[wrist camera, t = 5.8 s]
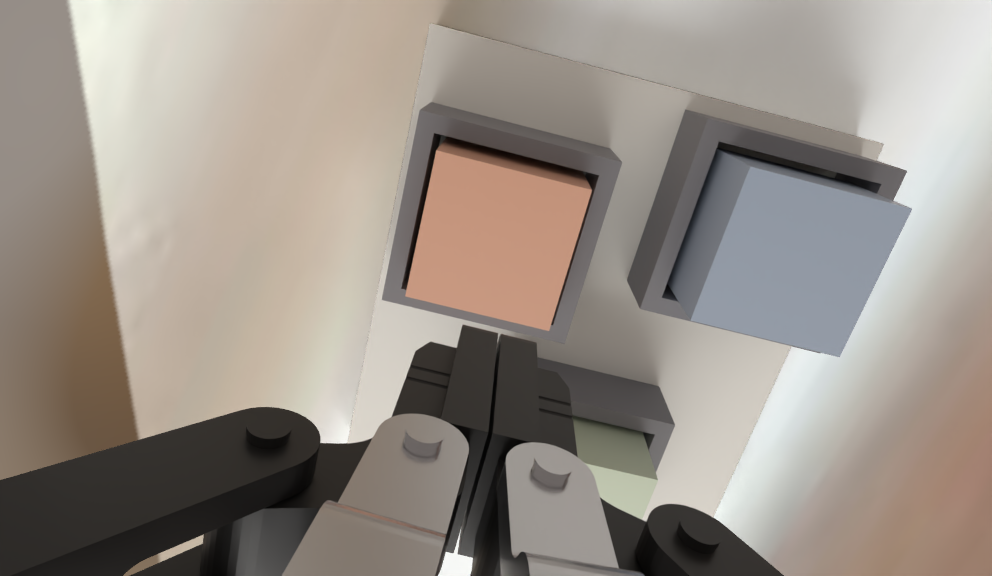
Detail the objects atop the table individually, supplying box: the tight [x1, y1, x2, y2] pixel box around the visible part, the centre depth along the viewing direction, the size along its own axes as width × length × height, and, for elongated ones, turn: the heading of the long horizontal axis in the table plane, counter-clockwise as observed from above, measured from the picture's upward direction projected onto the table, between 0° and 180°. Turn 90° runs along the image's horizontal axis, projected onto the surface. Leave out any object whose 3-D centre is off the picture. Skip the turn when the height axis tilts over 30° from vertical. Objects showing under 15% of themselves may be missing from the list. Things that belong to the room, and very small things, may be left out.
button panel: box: [347, 23, 907, 521], centre depth 26 cm, size 17×19×5 cm
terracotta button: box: [405, 136, 592, 331], centre depth 23 cm, size 5×5×4 cm
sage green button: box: [572, 416, 658, 519], centre depth 25 cm, size 5×5×4 cm
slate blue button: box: [667, 148, 912, 357], centre depth 22 cm, size 5×5×4 cm
